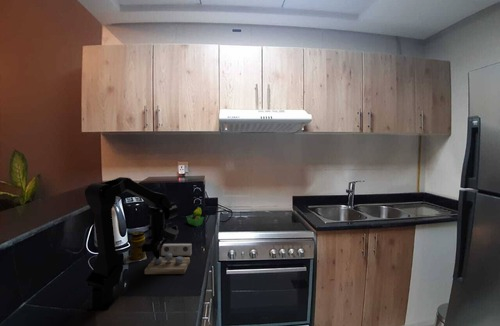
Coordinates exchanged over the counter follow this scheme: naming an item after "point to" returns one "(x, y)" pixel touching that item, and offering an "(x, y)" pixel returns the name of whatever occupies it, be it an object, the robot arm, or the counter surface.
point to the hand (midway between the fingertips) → (157, 258)
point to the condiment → (136, 247)
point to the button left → (158, 260)
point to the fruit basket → (196, 218)
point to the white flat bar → (176, 249)
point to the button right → (179, 260)
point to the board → (168, 267)
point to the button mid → (168, 257)
